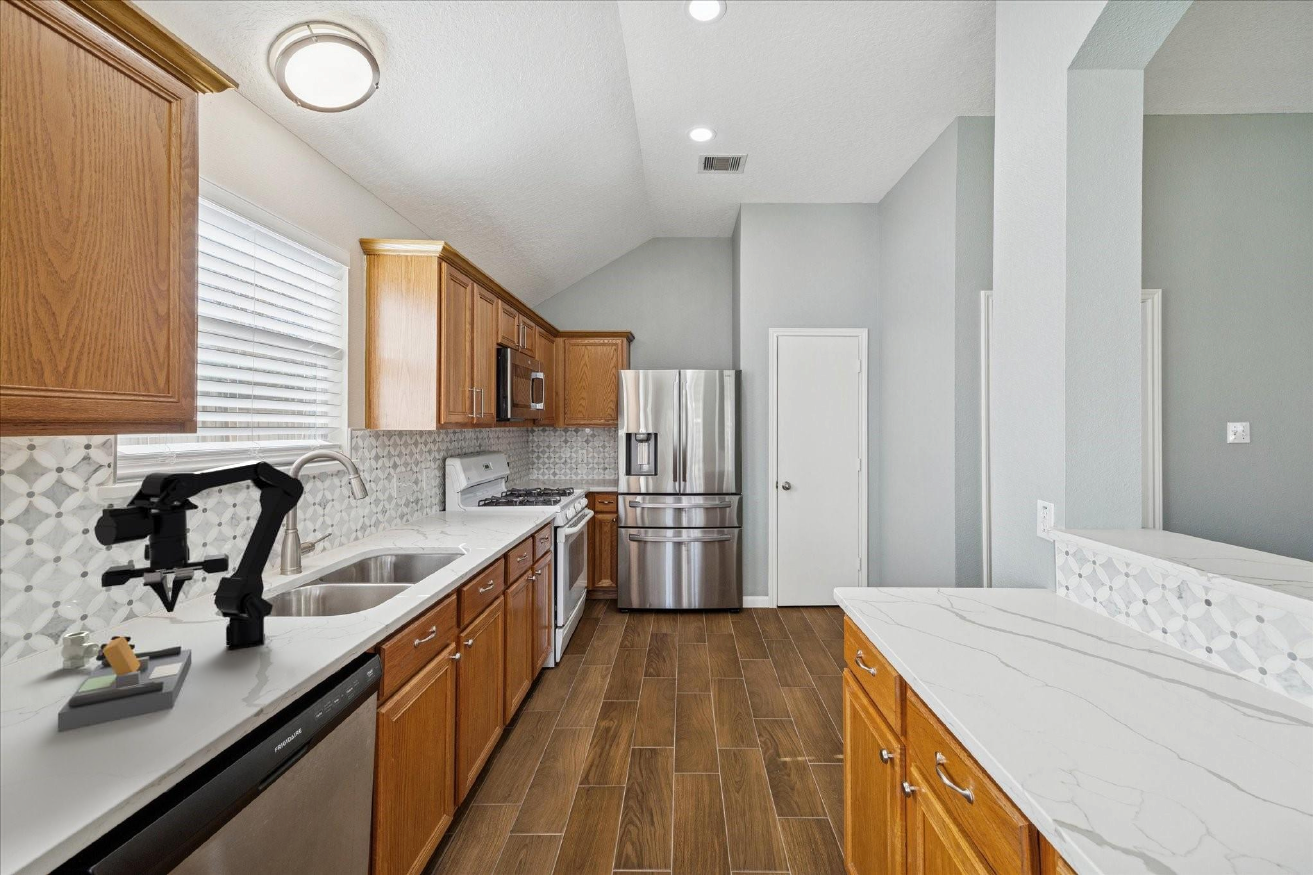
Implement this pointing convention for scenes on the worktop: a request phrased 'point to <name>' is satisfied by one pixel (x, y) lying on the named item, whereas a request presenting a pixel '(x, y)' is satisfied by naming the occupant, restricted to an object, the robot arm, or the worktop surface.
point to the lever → (121, 656)
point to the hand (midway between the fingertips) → (170, 611)
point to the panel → (127, 689)
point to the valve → (83, 649)
